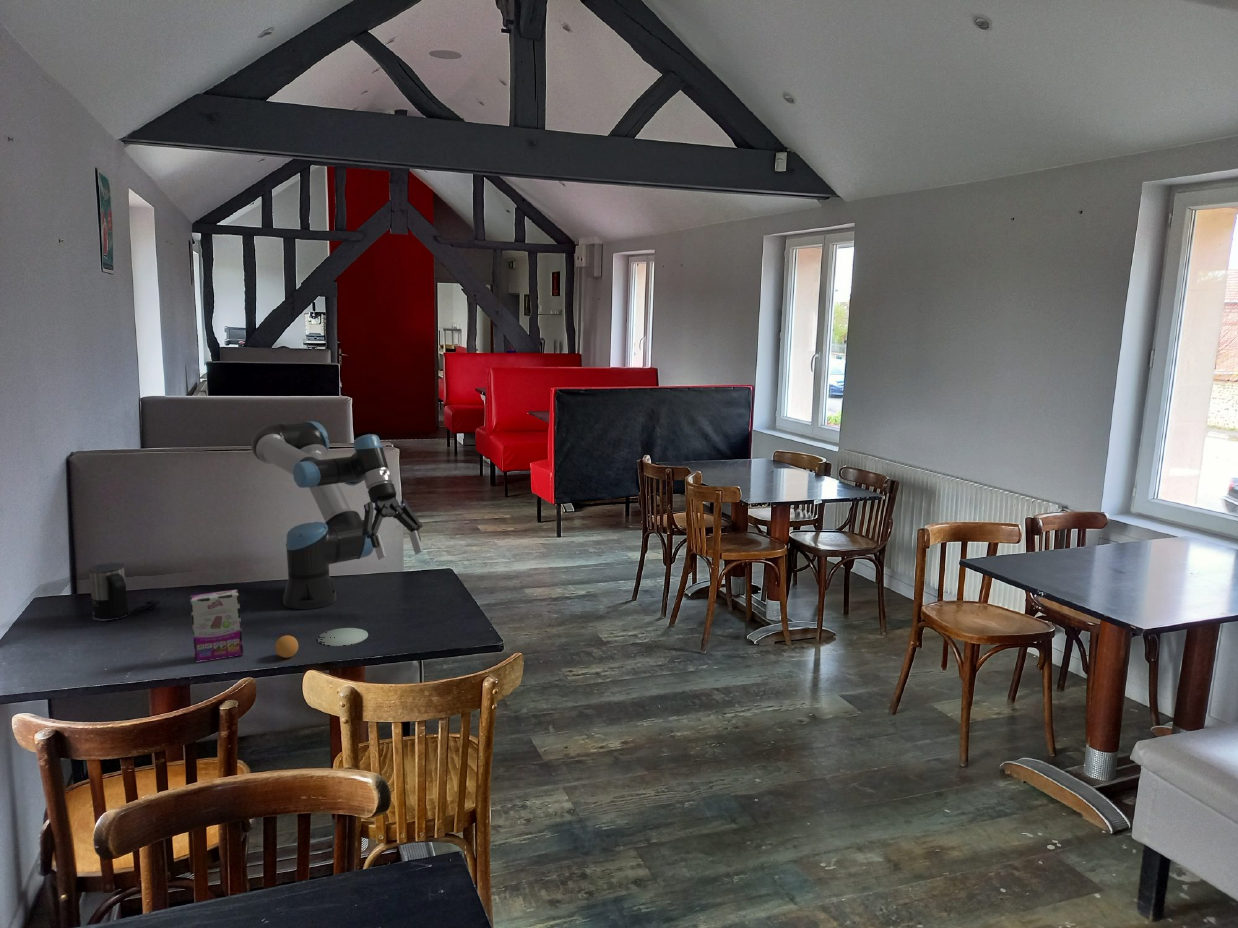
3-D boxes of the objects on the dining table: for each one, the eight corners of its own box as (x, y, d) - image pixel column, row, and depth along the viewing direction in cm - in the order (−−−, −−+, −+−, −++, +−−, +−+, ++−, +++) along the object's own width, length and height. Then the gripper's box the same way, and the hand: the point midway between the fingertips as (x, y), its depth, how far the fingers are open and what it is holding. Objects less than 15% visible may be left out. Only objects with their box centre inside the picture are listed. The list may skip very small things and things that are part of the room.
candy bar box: (242, 649, 225) (238, 588, 222) (243, 656, 221) (239, 594, 218) (194, 656, 220) (189, 594, 217) (194, 663, 216) (190, 600, 213)
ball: (271, 657, 220) (269, 636, 219) (290, 650, 224) (289, 630, 223) (284, 662, 217) (283, 641, 216) (303, 655, 221) (302, 635, 220)
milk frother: (84, 619, 245) (79, 568, 243) (133, 602, 260) (129, 554, 257) (120, 626, 240) (115, 574, 238) (168, 609, 254) (165, 560, 252)
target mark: (307, 638, 233) (307, 638, 233) (347, 625, 243) (347, 624, 243) (338, 649, 225) (338, 649, 225) (378, 635, 236) (378, 634, 236)
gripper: (352, 482, 239) (374, 555, 234) (420, 479, 260) (441, 546, 255) (336, 493, 243) (357, 564, 238) (405, 489, 263) (425, 555, 259)
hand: (401, 555), depth 247 cm, fingers open, 13 cm apart
